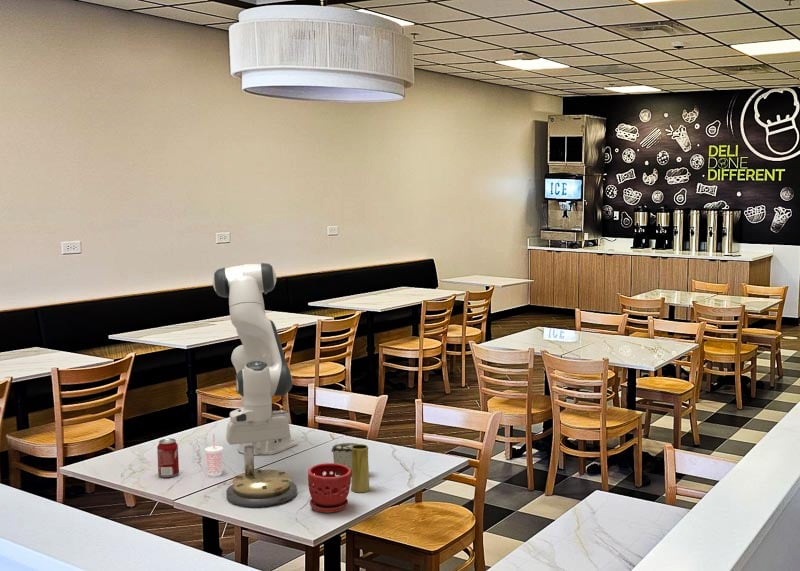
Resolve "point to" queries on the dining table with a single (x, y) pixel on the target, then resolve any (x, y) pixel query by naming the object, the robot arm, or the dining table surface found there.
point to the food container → (343, 455)
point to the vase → (360, 469)
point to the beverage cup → (214, 459)
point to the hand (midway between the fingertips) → (259, 454)
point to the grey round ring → (261, 502)
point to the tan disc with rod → (259, 480)
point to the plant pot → (329, 487)
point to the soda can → (168, 458)
